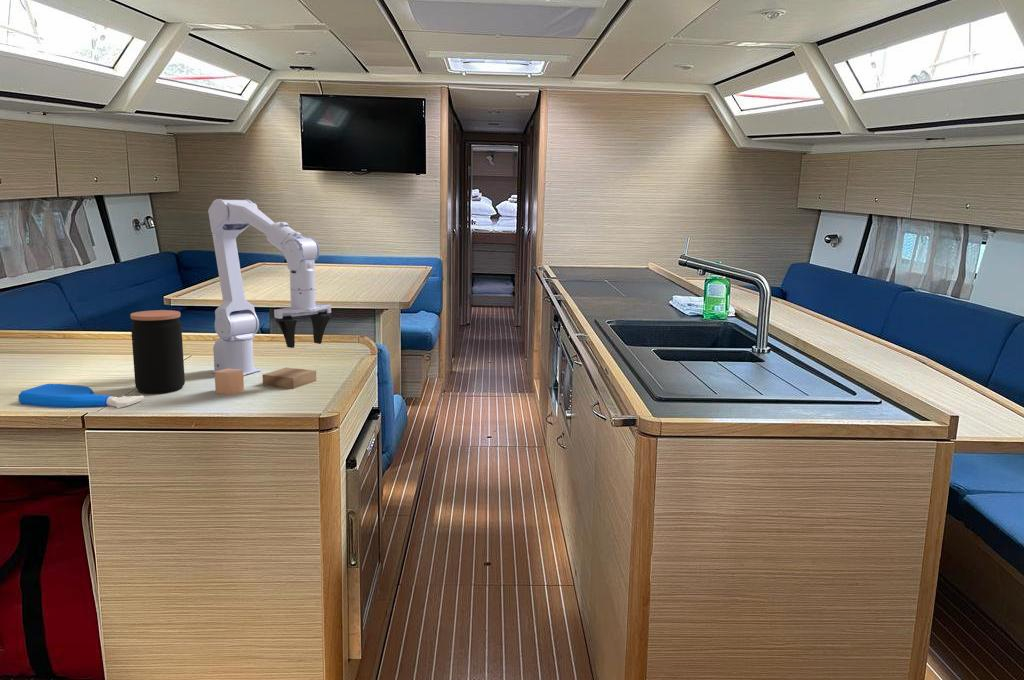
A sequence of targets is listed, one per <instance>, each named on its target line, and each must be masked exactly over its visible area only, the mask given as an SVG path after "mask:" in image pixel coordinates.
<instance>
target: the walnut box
mask: <svg viewBox="0 0 1024 680" xmlns="http://www.w3.org/2000/svg"><path fill="white" fill-rule="evenodd" d="M315 382H317V370H312V369H303V368H293V367H284V368H283V367H282V368H281V369H276V370H274V371H271V372H267V373H263V374H262V385H263V386H268V387H276V388H282V389H283V388H284V389H285V388H286V389H297V388H300V387H303V386H306V385H309V384H312V383H315Z"/></svg>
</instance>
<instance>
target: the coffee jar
mask: <svg viewBox="0 0 1024 680" xmlns="http://www.w3.org/2000/svg"><path fill="white" fill-rule="evenodd" d="M129 317H130V319H131V320H132V323H131V324H130V329H131V330H130V331H131V344H132V345H131V346H132V358H133V359H132V361H133V374H134V385H135V390H137V391H138V392H139V393H141V394H145V395H146V394H147V395H159V394H168V393H173V392H178V391H180V390H181V389H182V390H183V387H184V385H185V383H186V381H185V380H186V379H185V378H186V377H185V362H184V348H183V345H184V344H183V329H182V322H181V320H180V317H181V311H178V310H173V309H172V310H170V309H169V310H168V309H167V310H166V309H160V310H159V309H157V310H155V309H153V310H144V311H143V310H142V311H135V312H131V313H130V315H129Z"/></svg>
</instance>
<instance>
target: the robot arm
mask: <svg viewBox="0 0 1024 680" xmlns="http://www.w3.org/2000/svg"><path fill="white" fill-rule="evenodd" d="M207 212H208V218H209V225H210V231H211V234H212V240H213V247H214V253H215V258H216V265H217V271H218V280H219V284H220V285H219V286H220V290H221V298H222V303H221V304H220V305H219V306H218V307H217V308H216V309H215V310H214V315H215V317H214V318H215V319H214V331H215V333H216V335H217V337H218V338H217V339H216V340H215V342H214V344H213V349H212V350H213V353H212V354H213V367H214V368H213V369H214V370H212V371H211V373H212V374H215V372H216V371H219V370H223V369H227V368H231V369H239V370H243V376H247V375H249V374H254V373H257V372H261V371H262V368H259V367H255V366H254V347H253V346H254V344H253V338H255V337H256V335H255V334H257V332H258V331H259V328H260V321H259V318H258V316H257V314H256V310H255V306H254V305H253V304H252V303H250V302H249V301H248V300H247V299H246V297H245V296H246V295H245V291H244V283H243V275H242V273H241V272H242V271H241V264H240V258H239V252H238V246H237V238H238V236H239V235H240V234H241V233H243V232H244V231H246V230H247V228H249V227H250V226H251V227H253V228H255V229H257V230H258V231H259V232H261V233H263V234H265V235H266V240H267V241H268V243H270V244H271V245H273V246H274V247H275V248H277V249H278V250H280V251H281V252H282V253H283V257H284V259H285V260H286V263H287V269H288V270H289V280H290V281H289V288H290V289H289V292H290V306H288V307H284V308H279V309H278V308H277V309H274V311H273V315H274V318H275V321H276V323H277V325H278V326H279V328H280V330H281V332H282V334H283V338H284V340H285V343H286V344H285V345H286V347H287V348H290V349H294V348H295V346H296V345H295V344H296V341H295V333H296V325H297V322H298V320H297V319H294V317H302V316H309V317H310V320H311V324H312V332H313V333H312V335H313V336H312V337H313V343H314V344H318V345H320V344H322V343H323V337H324V333H325V330H326V327H327V325H328V324H329V321H330V319H331V313H332V304H316V275H315V274H316V271H315V270H316V269H315V267H316V266H315V264H316V263H315V261H317V260H318V258H319V257H320V251H321V250H320V249H321V248H320V246H319V243H318V241H317V240H316V239H314V237H313V236H310V237H309V236H306V237H305V236H303V235H302V233H301V232H299V231H295V230H294V229H292V228H291V227H290V226H289V223H288V222H286V221H278V222H275V221H273V220H272V219H271V218H270V217H268V216H267V215H266V214H265V213H264V212H262V211H261V210H260V209H259V208H258V205H257V203H254V202H252V201H251V199H222V198H217V199H215V200H213V201H212V203H211V204H210V206H209V208H208V210H207ZM232 312H233V313H232ZM234 312H235V313H234Z"/></svg>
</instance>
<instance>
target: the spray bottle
mask: <svg viewBox="0 0 1024 680" xmlns="http://www.w3.org/2000/svg"><path fill="white" fill-rule="evenodd" d="M143 400H145V396H144V395H131V396H125V395H121V396H119V397H117V396H113V395H112V394H110V395H109V394H108V395H107V394H106V395H103V394H96V393H94V391H93V389H92V388H91V387H90V386H86V385H78V384H67V383H66V384H64V383H45V384H41V385H38V386H35V387H31V388H29V389H27V388H26V389H25V390H21V391H20V393H19V394H18V402H19V403H20V404H22V405H27V406H36V407H46V408H47V407H48V408H88V407H90V408H91V407H93V408H95V407H96V408H97V407H108V406H109V407H116V409H121V408H125V407H129V406H131V405H134V404H137V403H140V402H141V401H143Z"/></svg>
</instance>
